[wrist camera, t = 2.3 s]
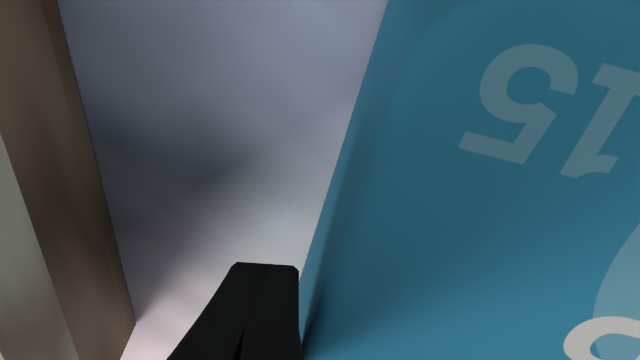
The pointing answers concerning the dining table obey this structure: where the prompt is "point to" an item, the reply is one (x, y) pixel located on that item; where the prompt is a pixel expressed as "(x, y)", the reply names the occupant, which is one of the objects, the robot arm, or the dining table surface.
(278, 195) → the dining table surface
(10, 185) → the cover plate
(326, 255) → the data package
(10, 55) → the walnut box
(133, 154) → the dining table surface
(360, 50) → the dining table surface
